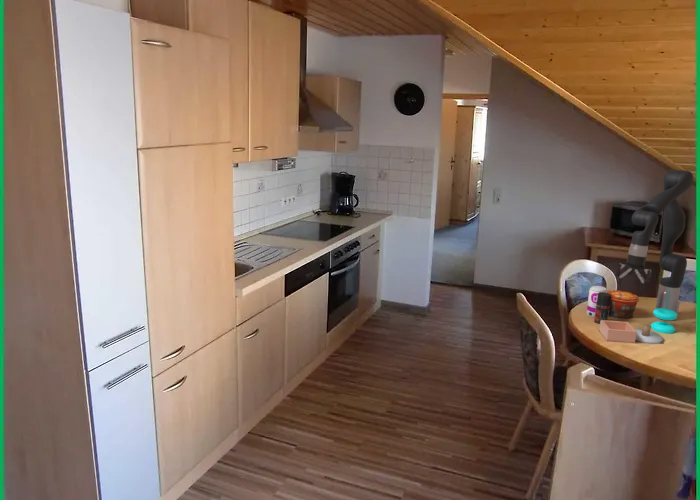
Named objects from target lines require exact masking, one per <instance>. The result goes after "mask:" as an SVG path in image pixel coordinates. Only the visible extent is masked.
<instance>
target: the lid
mask: <svg viewBox="0 0 700 500" xmlns="http://www.w3.org/2000/svg"><path fill="white" fill-rule="evenodd" d="M634 329H635V330H636V332H637V333H636V339H635V340H636V341H639V342H638V343H644V344H648V345H649V344H650V345H654V344H655V345H656V344H658V343H661V342H663V339H664V337H663V336H662V335H660V334H659V333H658V332H656V331H655V332H654V331H651V329H652V328H651V325H648V324H643V325H642V329H640V328H638V329H637V328H634ZM658 345H659V344H658Z"/></svg>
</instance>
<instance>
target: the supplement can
mask: <svg viewBox="0 0 700 500" xmlns="http://www.w3.org/2000/svg"><path fill="white" fill-rule="evenodd" d="M588 290H589V291H588V299H587V305H586V315H587V316H588V317H590V318H593V319H594V318H595V311H596V304H597V297H598V293H599V292H604V293H607V291H608V290H607V288H606V287H605V286H601V285H592V286H591V287H590V288H589V289H588Z"/></svg>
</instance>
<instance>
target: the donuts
mask: <svg viewBox="0 0 700 500" xmlns="http://www.w3.org/2000/svg"><path fill="white" fill-rule="evenodd" d="M654 315H655V316H656V317H657V319H659V320H663V321H654V322H652V323H651V324H650V326H651V329H652V330H653V331H655V332H656V333H661V334H673V333H675V331H676V328H675V327H674V325H673V324H672V323H669V322H666V321H669V320H671V321H675V320H674V319H676V318H677V319H678V315H679V314H678V315H677V313H676V312H675V311H673V310H670V309H665V308H658V309H654V310H653V316H654ZM655 316H654V317H655ZM656 317H655V318H656Z"/></svg>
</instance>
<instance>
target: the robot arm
mask: <svg viewBox="0 0 700 500" xmlns="http://www.w3.org/2000/svg"><path fill="white" fill-rule="evenodd" d="M693 181H694V174H693V173H692V172H691V171H690V170H681V169H669V170H667V171H665V174H664V177H663V191H661V192H659V193H657V194H655V195H654V196H653V197H652V198H651V199H650V200H649V201H648V202H647V204H645V205H643V206H641V207H639V208H638V209H636V210H635V211H633V213H632V216H631V223H632V224H633V225H635V226H639V227H645V228H644V229H643V230H636V231H634V232H633V233H632V238H631V242H630V246H629V247H628V248H629V249H628V253H627V258H626V263H625V264H623V263H622V262H620V263H618V265H617V268H616V272H615V277H617V278H618V284H617V285H618V286H619V287H622V286H623V282H624V277H625V276H626V275H628V276H633V277H637V278H638V279H639V280H640V285H639V290H638V291H640V292H641V291H643V290H644V289H645V284H648V283H650V282H651V278H652V277H651V276H652V271H653V270H652V269H651V268H649V269H647V268H645V265H646V261H647V256H648V251H649V243H650V240H651V237H652V234H653V232H654V230H655V228H656V226H657V225H658V223H659V215H661V214H662V213H663V219H662V221H663V222H662V240H661V241H662V242H661V248H660V254H659V262H658V263H659V264H658V265H659V268H660V269H661V270H662V271H665V272H669V273H671V275H670V276H665V277H664V276H663V277H661V278H660V279H659V280H660V281H659V284H658V286H659V287H658V291H657V297H656V298H657V299H656V302H655V303H656V304H655V309H658V308H665V309H670V310H673V311H675V312H676V313H677V315H679V308H680V301H679V298H680V292H681V287H682V283H683V281H684V277H685V274H686V269H687V267H688V266H687V264H688V259H687V257H685V255H680V254H676V253H674V252H673V251H674V245H675V243H676V241H677V240H678V239H679V237H681V235H682V234H683V232H684V231H685V229H686V228H685V227H686V213H685V211H684V209H683V208H682V207H681V205H680V204H679V203H680V202H678V200H677V199H678V197H680V196H681V195H683V194H684V193H685V192H686V191H688V190H689V189H690V188H691V187H692V185H693ZM623 268H624V269H625V270H624V272H623V273H622V274H621V270H622V269H623ZM643 273H645V275H646V279H645V277H644V275H643ZM655 309H654V310H655ZM653 316H654V317H655V318H657V317H656V316H655V315H654V314H653ZM657 319H658V318H657ZM677 319H678V317H677V318H676V319H674V320H673V321H677ZM668 321H669V322H670V321H672V320H668Z"/></svg>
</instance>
